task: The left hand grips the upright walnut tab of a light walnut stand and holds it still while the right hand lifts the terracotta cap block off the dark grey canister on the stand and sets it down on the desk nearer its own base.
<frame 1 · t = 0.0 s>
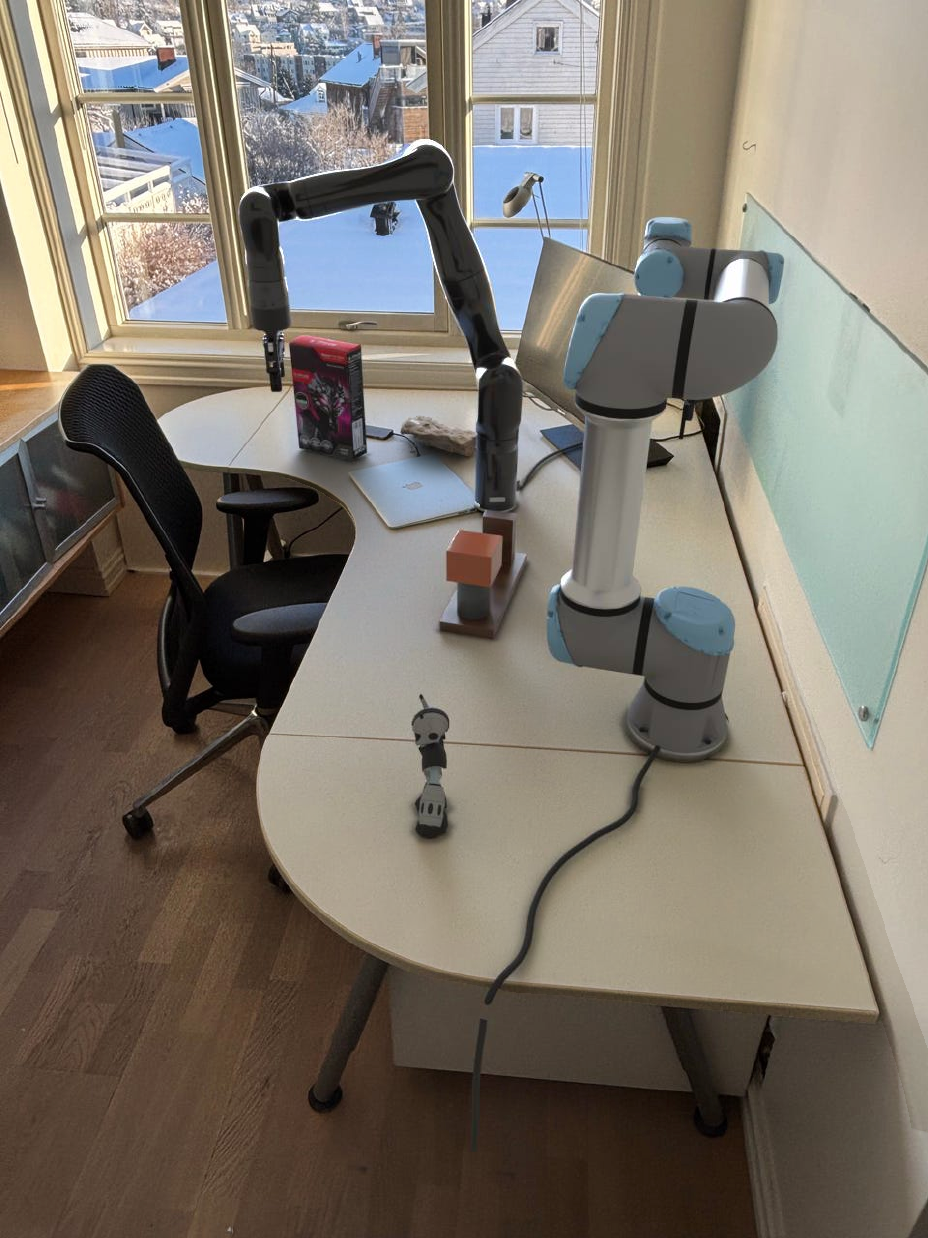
left hand: (278, 383, 186), 29 cm above the table, fingers open, 8 cm apart
right hand: (643, 432, 170), 28 cm above the table, fingers open, 13 cm apart
walnut stand: (485, 594, 176), on the table, touching terracotta cap
terracotta cap: (474, 572, 163), point 10 cm above the table, touching walnut stand
robot: (431, 817, 128), on the table
graphics card box: (333, 451, 230), on the table
stone: (437, 445, 234), on the table
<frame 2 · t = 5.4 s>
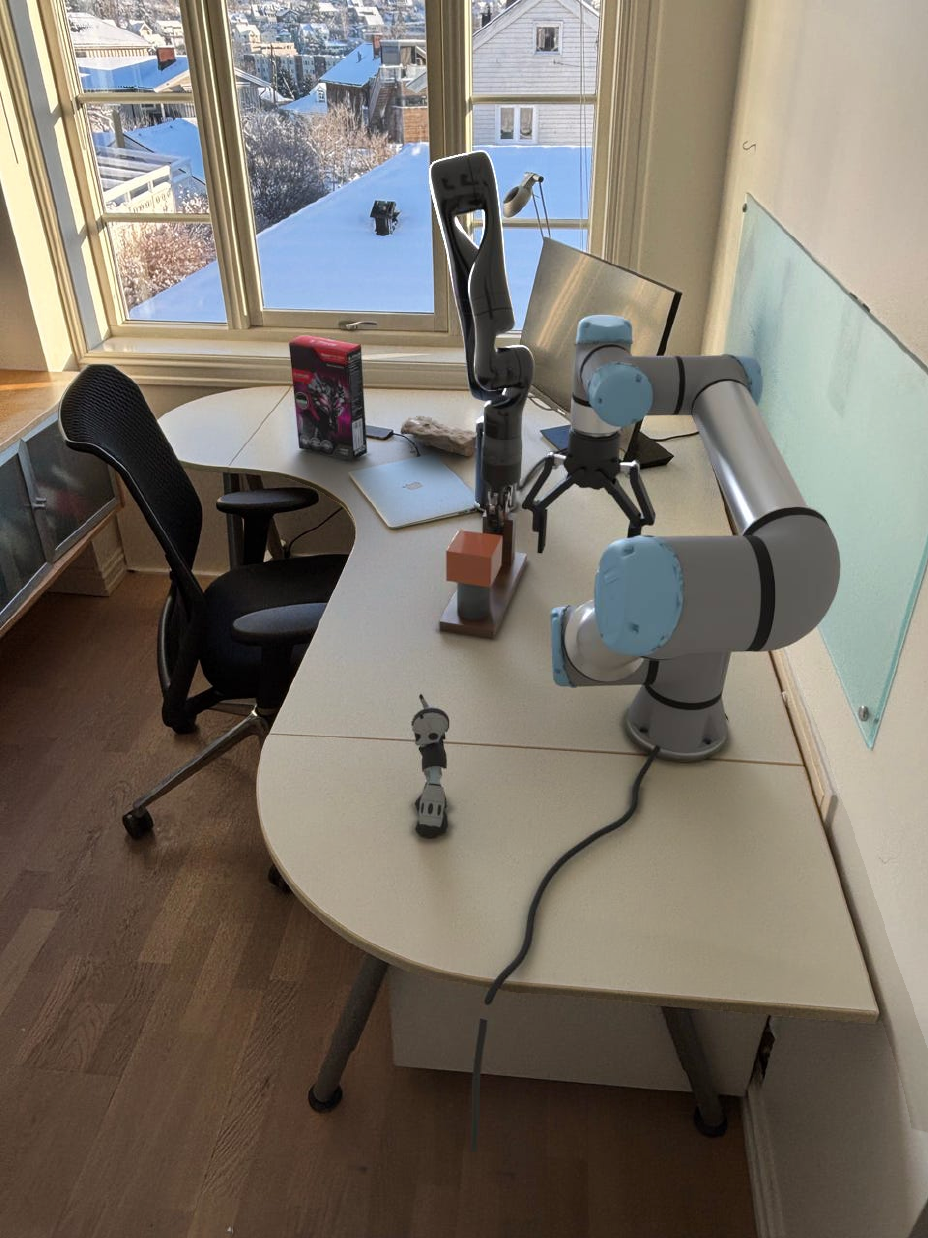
left hand: (498, 537, 180), 7 cm above the table, fingers closed on walnut stand, 3 cm apart
right hand: (583, 555, 145), 22 cm above the table, fingers open, 13 cm apart
walnut stand: (485, 594, 176), on the table, touching left hand, terracotta cap
everything else where it was.
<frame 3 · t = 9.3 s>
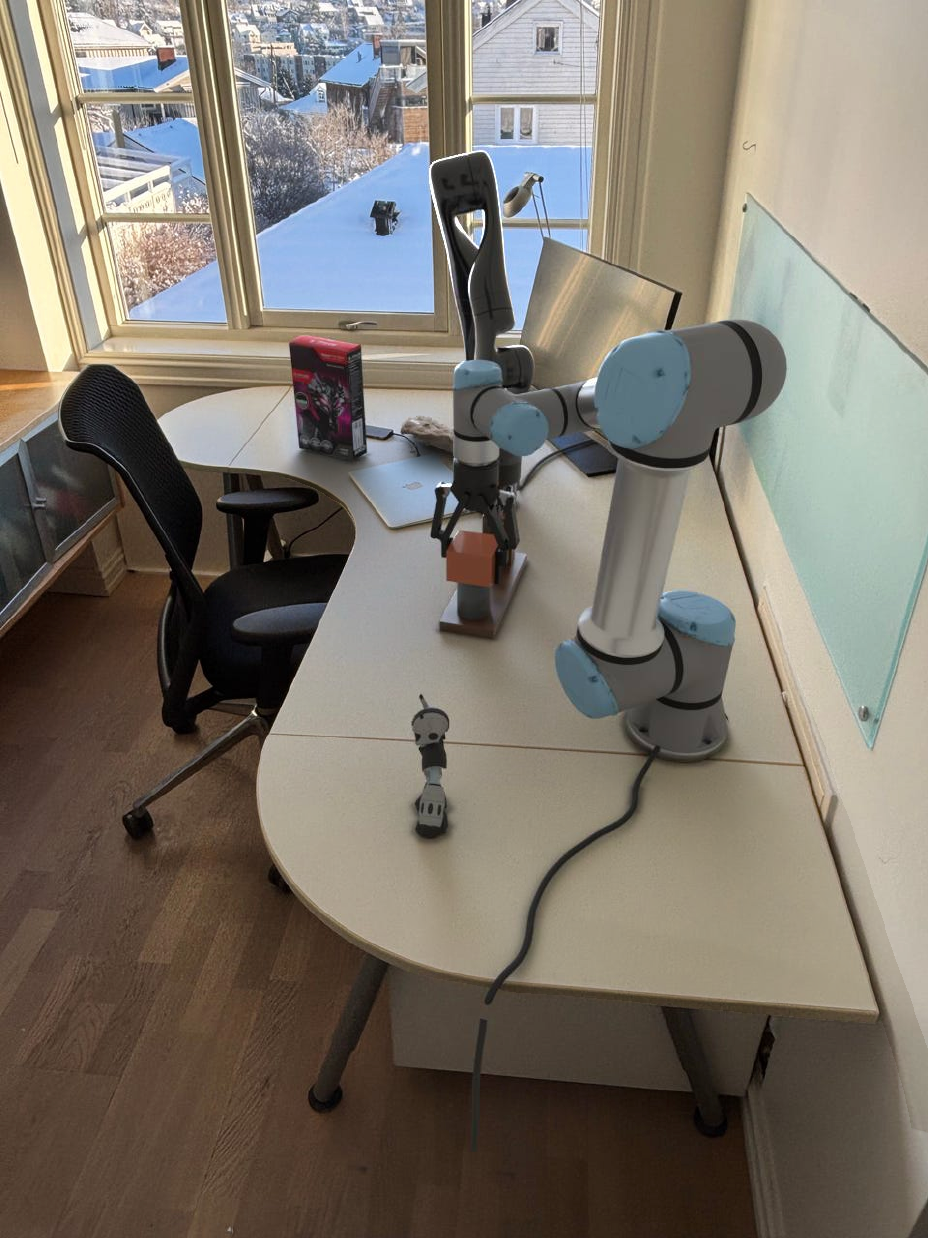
left hand: (498, 537, 180), 7 cm above the table, fingers closed on walnut stand, 3 cm apart
right hand: (474, 576, 163), 9 cm above the table, fingers closed on terracotta cap, 8 cm apart
walnut stand: (485, 594, 176), on the table, touching left hand, terracotta cap
terracotta cap: (474, 572, 163), point 10 cm above the table, touching right hand, walnut stand
everything else where it was.
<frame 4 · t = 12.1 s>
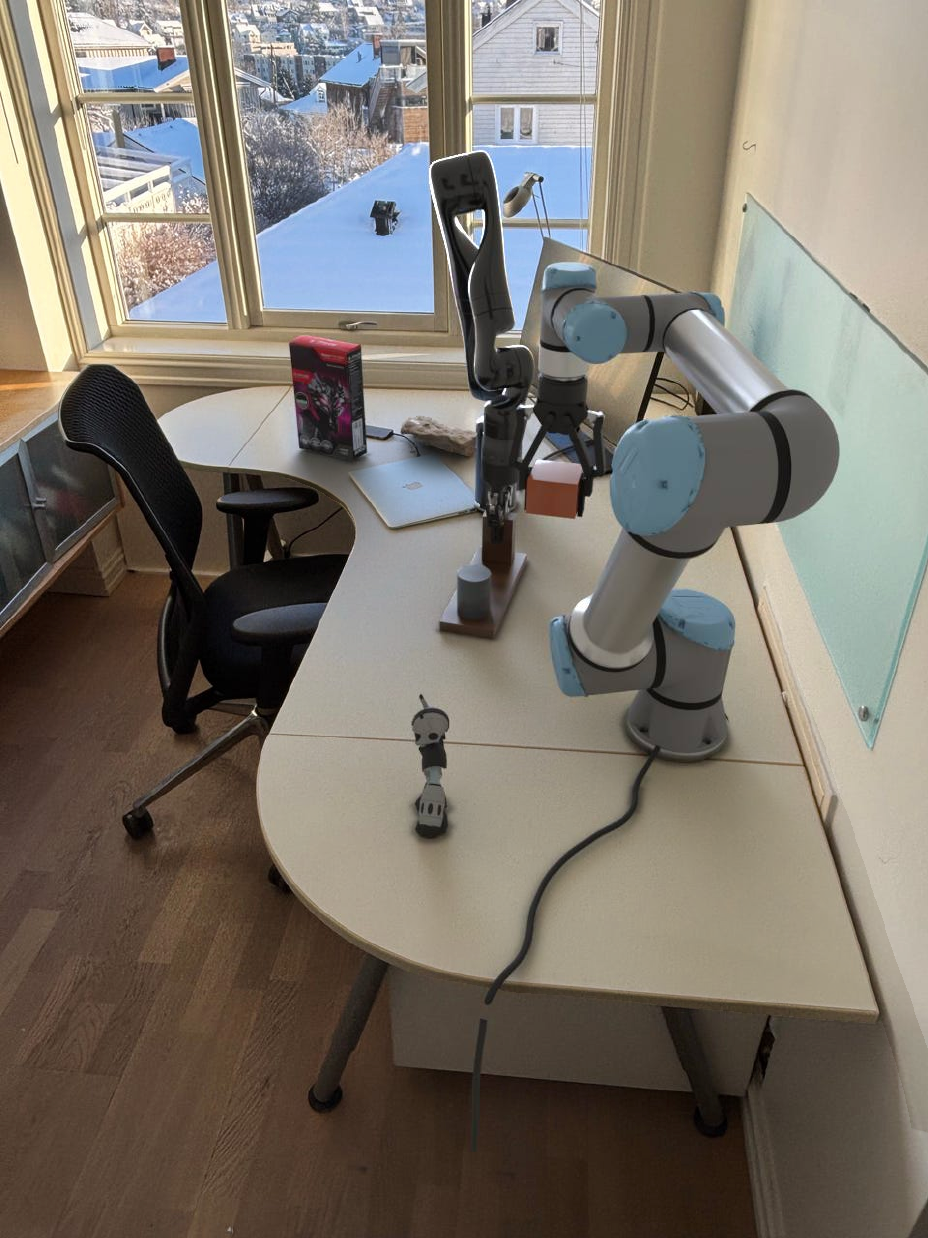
left hand: (498, 537, 180), 7 cm above the table, fingers closed on walnut stand, 3 cm apart
right hand: (554, 509, 150), 25 cm above the table, fingers closed on terracotta cap, 8 cm apart
walnut stand: (485, 594, 176), on the table, touching left hand
terracotta cap: (554, 505, 150), point 26 cm above the table, touching right hand
everything else where it was.
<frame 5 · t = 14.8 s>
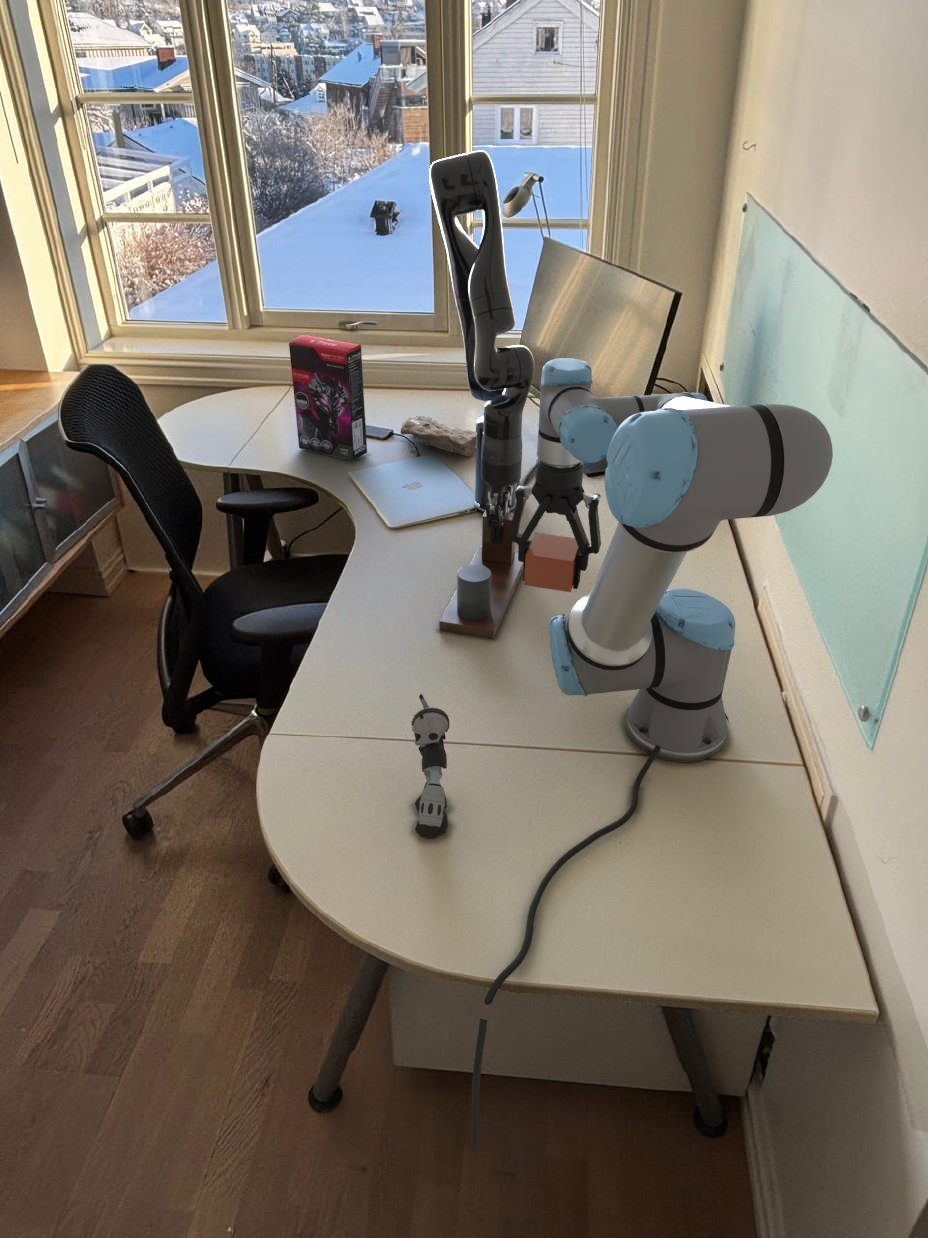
left hand: (498, 537, 180), 7 cm above the table, fingers closed on walnut stand, 3 cm apart
right hand: (551, 580, 158), 11 cm above the table, fingers closed on terracotta cap, 8 cm apart
walnut stand: (485, 594, 176), on the table, touching left hand
terracotta cap: (551, 576, 158), point 12 cm above the table, touching right hand
everything else where it was.
when the right hand's fingers open (2 cm above the table, at t = 17.1 s): terracotta cap drops 2 cm, on the table.
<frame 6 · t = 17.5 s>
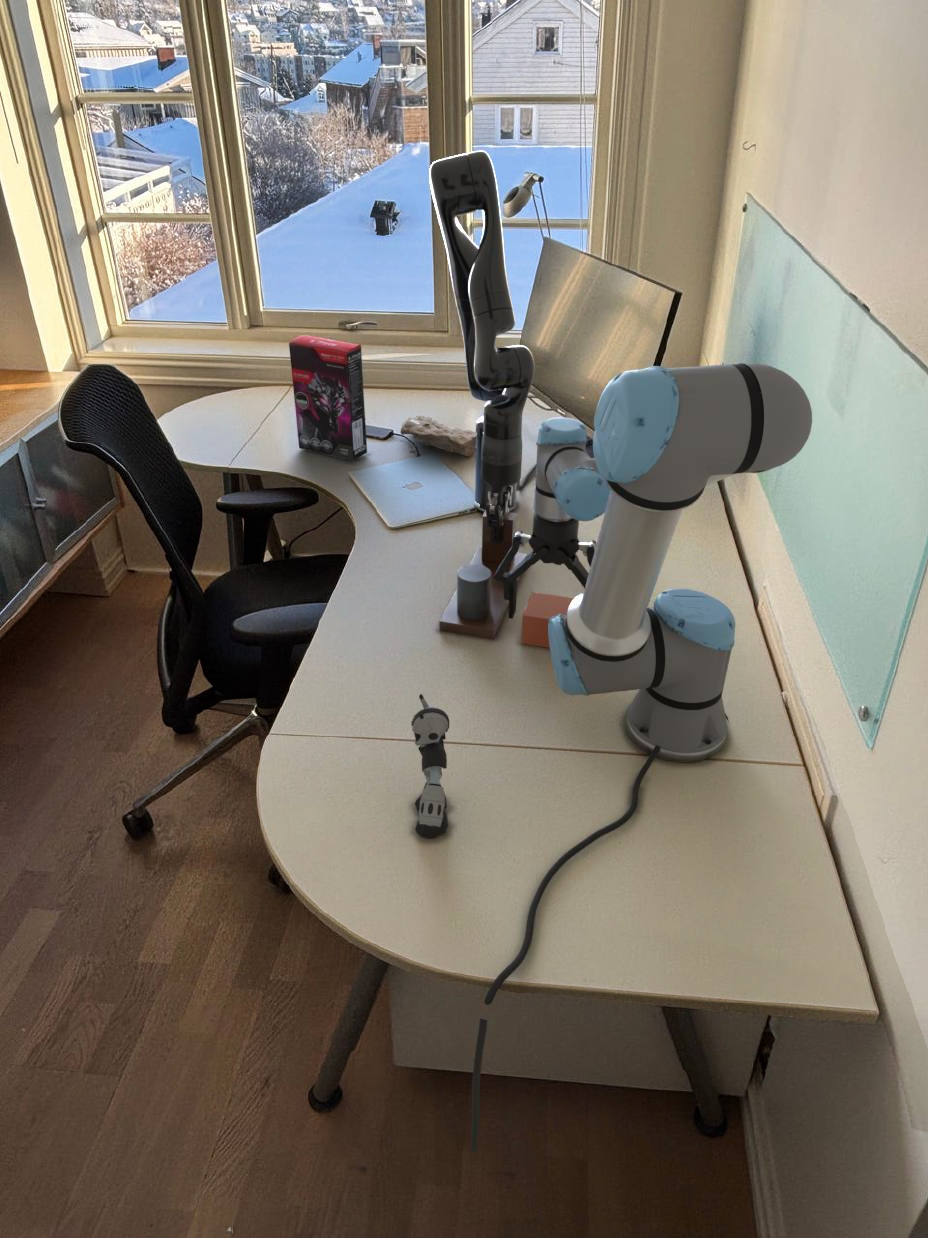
left hand: (498, 537, 180), 7 cm above the table, fingers closed on walnut stand, 3 cm apart
right hand: (548, 620, 163), 3 cm above the table, fingers open, 13 cm apart
walnut stand: (485, 594, 176), on the table, touching left hand
terracotta cap: (547, 634, 165), on the table
everything else where it was.
when the left hand's fingers open (7 cm above the table, at t = 19.3 s): walnut stand stays where it is, on the table.
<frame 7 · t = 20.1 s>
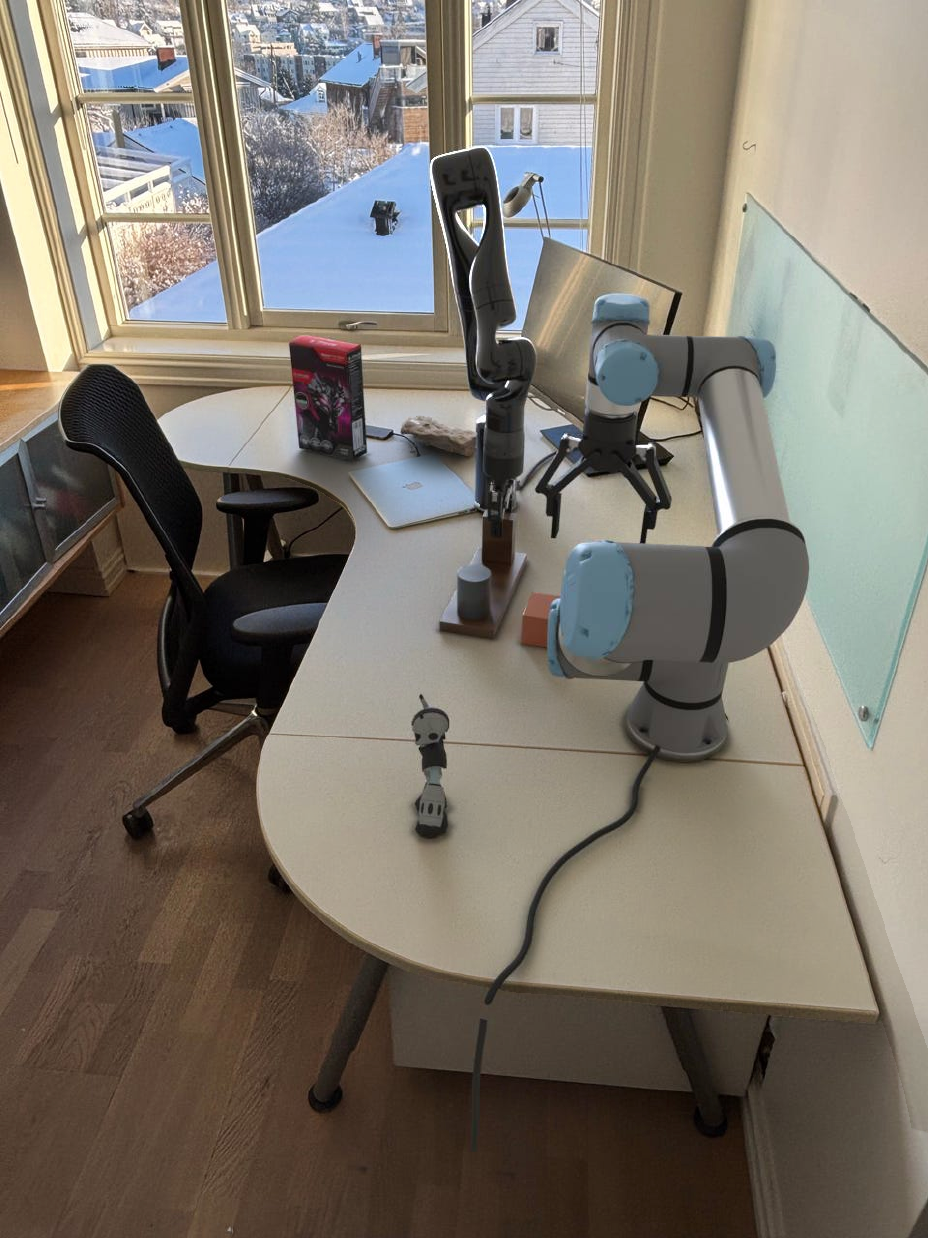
left hand: (501, 526, 178), 9 cm above the table, fingers open, 8 cm apart
right hand: (598, 540, 143), 25 cm above the table, fingers open, 13 cm apart
walnut stand: (485, 594, 176), on the table
everything else where it was.
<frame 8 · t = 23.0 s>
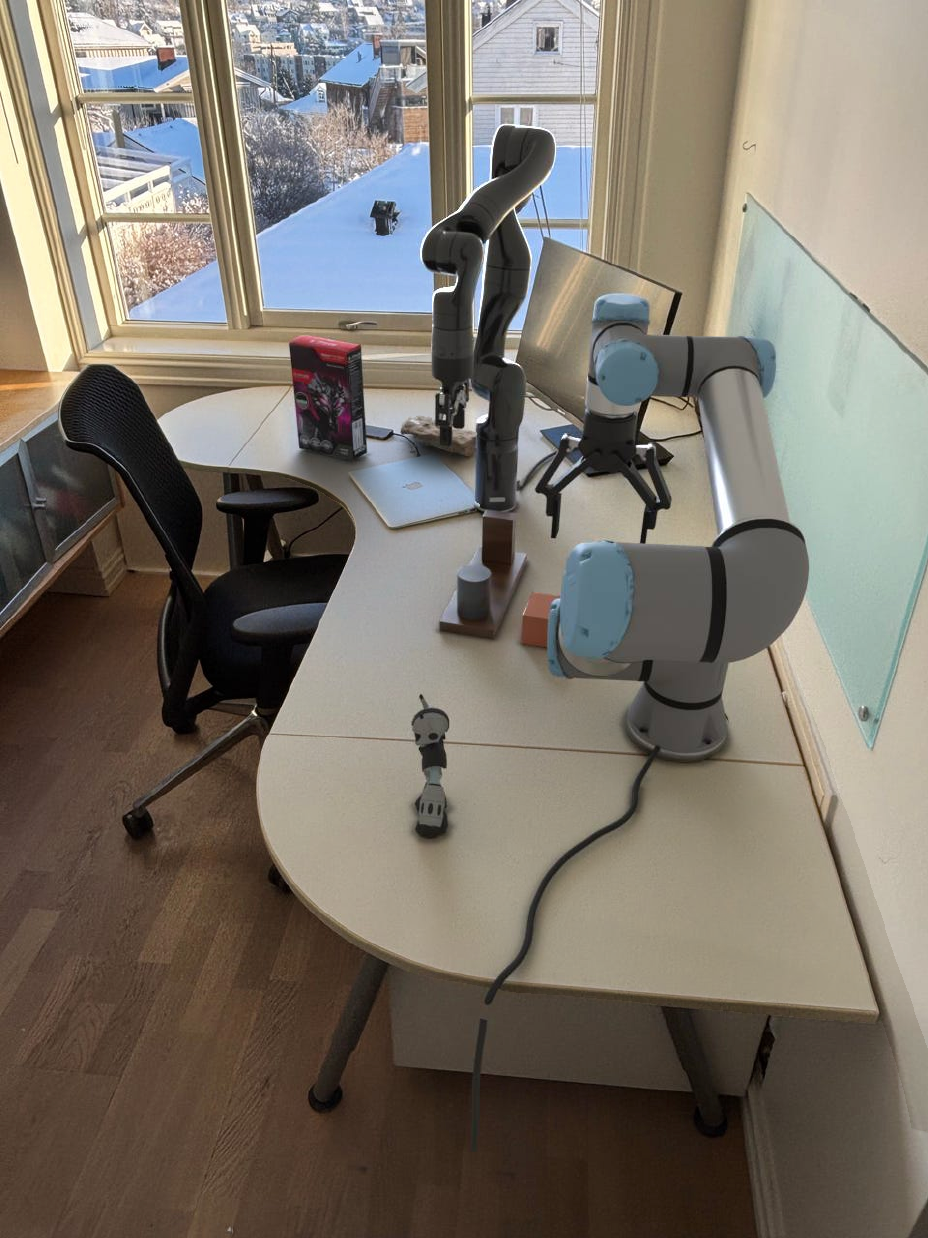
left hand: (452, 436, 173), 26 cm above the table, fingers open, 8 cm apart
right hand: (598, 540, 143), 25 cm above the table, fingers open, 13 cm apart
nothing on the table moved.
at the end: terracotta cap inside the target area (0.0 cm from its centre), on the table; walnut stand moved 0.0 cm from its start; the left hand is holding nothing; the right hand is holding nothing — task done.
